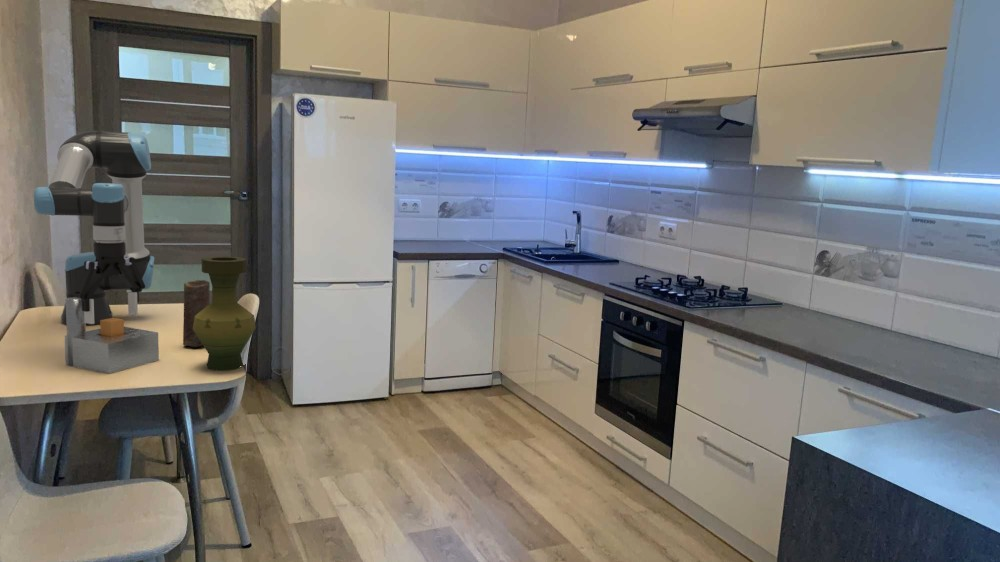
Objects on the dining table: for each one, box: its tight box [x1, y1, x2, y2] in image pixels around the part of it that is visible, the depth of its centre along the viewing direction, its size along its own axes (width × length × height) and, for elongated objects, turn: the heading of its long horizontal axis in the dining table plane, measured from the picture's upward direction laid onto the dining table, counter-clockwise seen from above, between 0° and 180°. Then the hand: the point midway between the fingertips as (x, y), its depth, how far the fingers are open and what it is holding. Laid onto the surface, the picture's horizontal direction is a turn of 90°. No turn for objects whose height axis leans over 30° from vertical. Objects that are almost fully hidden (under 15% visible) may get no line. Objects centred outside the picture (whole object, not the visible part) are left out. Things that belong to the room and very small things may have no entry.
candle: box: [182, 279, 211, 348], centre depth 216 cm, size 8×7×20 cm
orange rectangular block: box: [99, 317, 125, 338], centre depth 196 cm, size 4×4×12 cm
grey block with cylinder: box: [63, 297, 160, 375], centre depth 195 cm, size 16×16×18 cm
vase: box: [193, 255, 257, 372], centre depth 197 cm, size 16×16×30 cm
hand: (111, 319), depth 195 cm, fingers open, 13 cm apart
